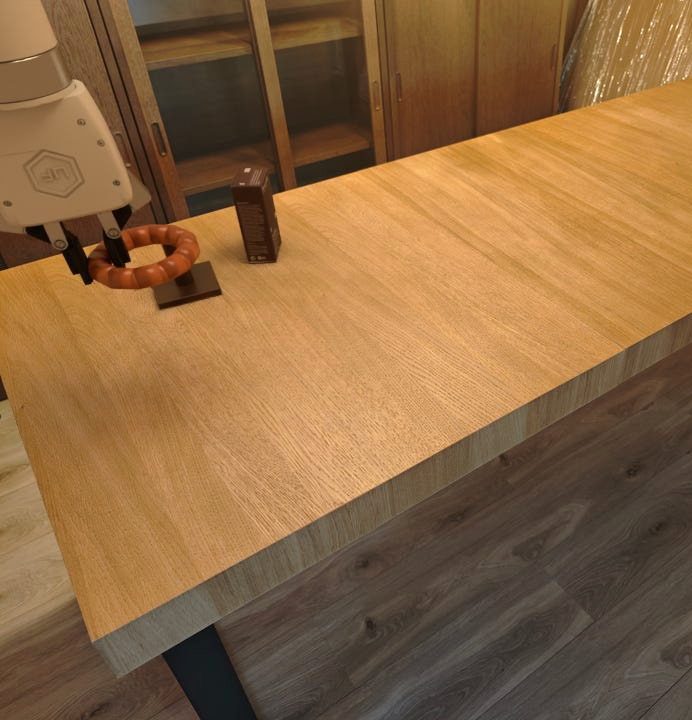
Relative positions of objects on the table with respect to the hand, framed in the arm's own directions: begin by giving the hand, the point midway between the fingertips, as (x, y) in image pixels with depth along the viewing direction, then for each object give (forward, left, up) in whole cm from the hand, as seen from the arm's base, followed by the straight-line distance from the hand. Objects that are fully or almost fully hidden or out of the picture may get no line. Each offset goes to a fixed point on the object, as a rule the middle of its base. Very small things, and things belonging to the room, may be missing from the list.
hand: (105, 272), depth 62 cm
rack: (+6, +21, -16) cm, 27 cm away
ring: (+4, 0, +1) cm, 4 cm away
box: (+18, +25, -17) cm, 35 cm away
